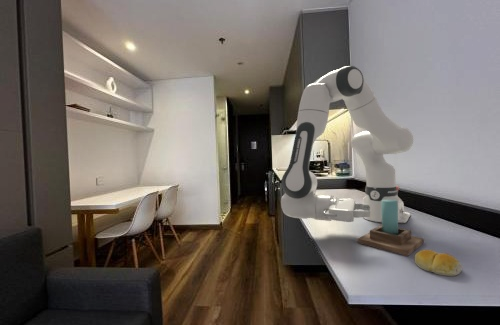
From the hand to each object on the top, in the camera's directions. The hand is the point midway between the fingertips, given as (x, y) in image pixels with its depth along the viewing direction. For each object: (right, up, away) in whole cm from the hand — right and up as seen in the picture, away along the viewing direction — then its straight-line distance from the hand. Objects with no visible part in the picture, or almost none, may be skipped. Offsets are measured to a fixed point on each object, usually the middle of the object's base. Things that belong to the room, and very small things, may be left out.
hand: (370, 210), depth 77 cm
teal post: (+5, -8, -2) cm, 10 cm away
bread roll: (+7, -11, -19) cm, 23 cm away
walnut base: (+5, -10, -2) cm, 12 cm away
